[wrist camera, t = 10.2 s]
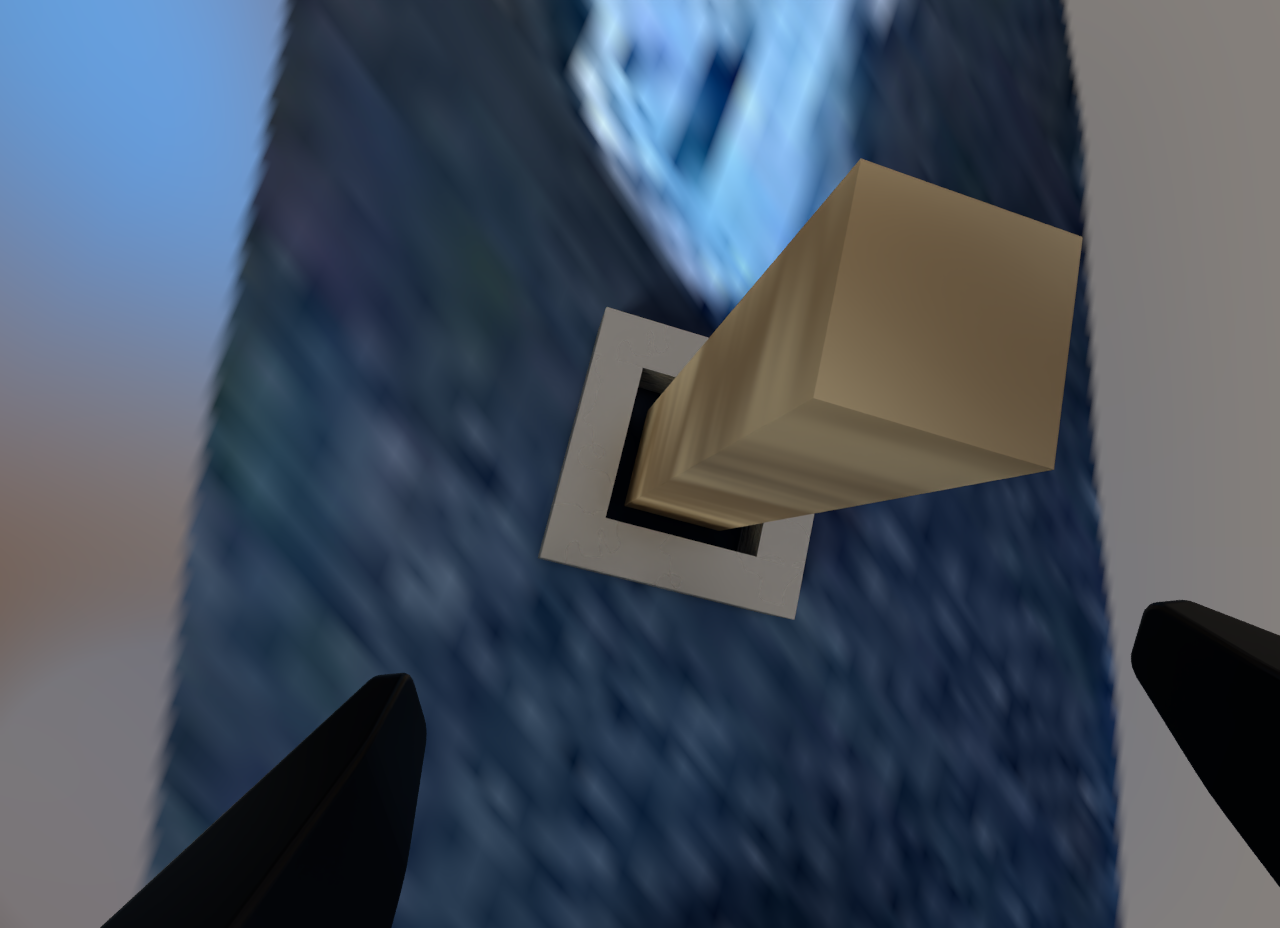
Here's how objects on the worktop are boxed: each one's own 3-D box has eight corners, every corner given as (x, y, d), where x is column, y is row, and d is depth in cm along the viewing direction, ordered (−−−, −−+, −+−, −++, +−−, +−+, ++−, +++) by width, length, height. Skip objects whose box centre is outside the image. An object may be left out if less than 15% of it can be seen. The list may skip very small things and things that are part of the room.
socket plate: (769, 615, 22) (794, 619, 20) (537, 558, 21) (540, 556, 19) (812, 393, 23) (840, 377, 21) (598, 329, 22) (606, 306, 20)
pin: (719, 530, 22) (1054, 469, 8) (624, 505, 22) (813, 397, 8) (739, 437, 23) (1082, 237, 9) (647, 410, 22) (860, 158, 9)
